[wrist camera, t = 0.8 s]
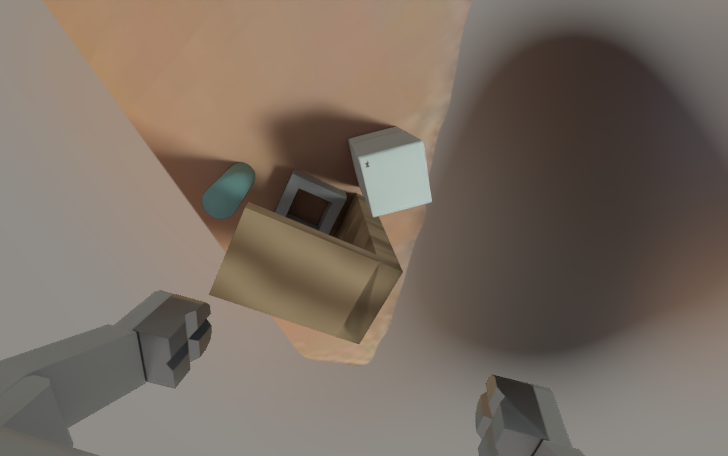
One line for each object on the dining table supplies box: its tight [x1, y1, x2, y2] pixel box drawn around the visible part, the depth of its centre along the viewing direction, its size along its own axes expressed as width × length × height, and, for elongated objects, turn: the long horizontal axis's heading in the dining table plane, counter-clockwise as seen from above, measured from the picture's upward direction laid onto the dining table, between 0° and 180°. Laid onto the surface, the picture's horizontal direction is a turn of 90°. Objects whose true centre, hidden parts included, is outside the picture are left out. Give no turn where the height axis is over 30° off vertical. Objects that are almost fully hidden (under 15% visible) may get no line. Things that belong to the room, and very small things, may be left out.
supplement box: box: [348, 127, 432, 217], centre depth 45 cm, size 7×7×13 cm
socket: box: [275, 169, 347, 235], centre depth 50 cm, size 8×8×3 cm
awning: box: [209, 193, 403, 344], centre depth 42 cm, size 9×15×22 cm, turn 63°
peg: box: [202, 163, 255, 219], centre depth 44 cm, size 4×4×12 cm
